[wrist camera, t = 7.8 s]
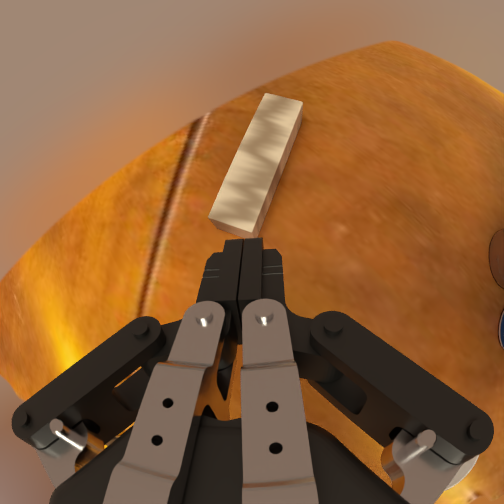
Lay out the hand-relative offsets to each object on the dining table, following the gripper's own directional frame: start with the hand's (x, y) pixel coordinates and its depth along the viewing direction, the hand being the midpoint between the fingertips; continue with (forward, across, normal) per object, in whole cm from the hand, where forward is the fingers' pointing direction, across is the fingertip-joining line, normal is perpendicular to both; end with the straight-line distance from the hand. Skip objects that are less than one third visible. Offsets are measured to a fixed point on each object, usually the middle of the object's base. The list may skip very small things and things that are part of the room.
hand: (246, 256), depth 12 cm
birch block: (+18, +4, +9) cm, 21 cm away
